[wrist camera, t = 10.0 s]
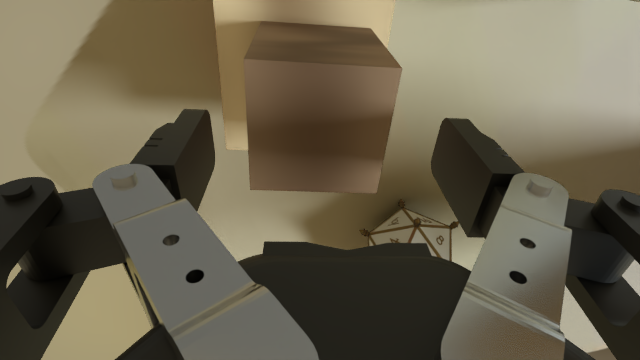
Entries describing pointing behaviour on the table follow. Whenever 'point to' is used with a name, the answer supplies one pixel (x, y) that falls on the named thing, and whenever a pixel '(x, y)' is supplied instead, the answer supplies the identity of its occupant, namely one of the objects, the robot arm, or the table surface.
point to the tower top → (278, 6)
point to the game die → (413, 232)
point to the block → (318, 107)
